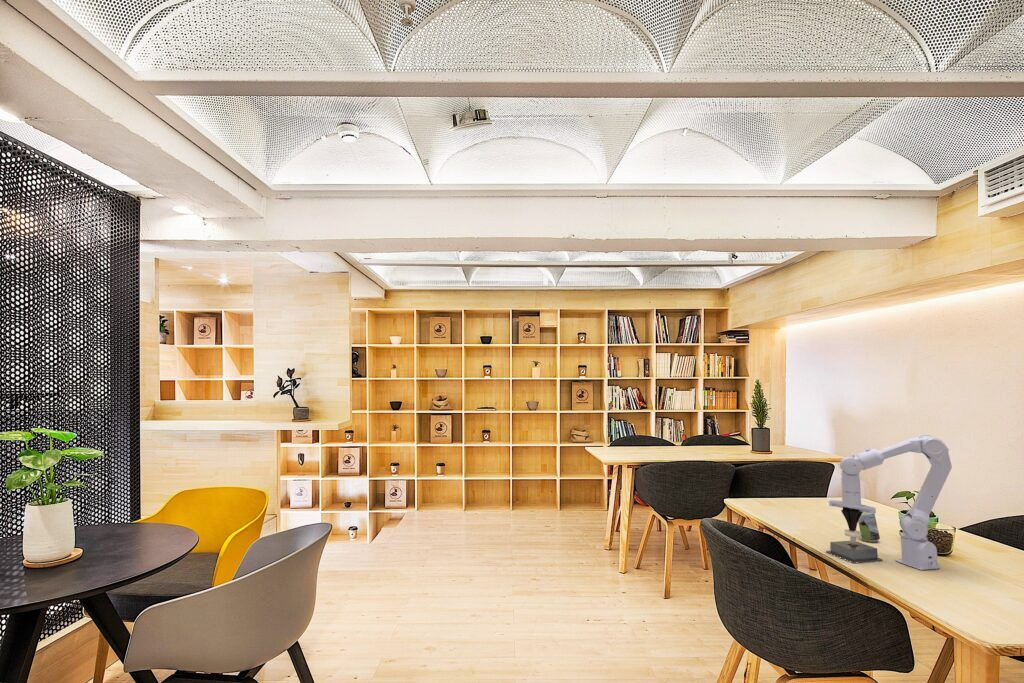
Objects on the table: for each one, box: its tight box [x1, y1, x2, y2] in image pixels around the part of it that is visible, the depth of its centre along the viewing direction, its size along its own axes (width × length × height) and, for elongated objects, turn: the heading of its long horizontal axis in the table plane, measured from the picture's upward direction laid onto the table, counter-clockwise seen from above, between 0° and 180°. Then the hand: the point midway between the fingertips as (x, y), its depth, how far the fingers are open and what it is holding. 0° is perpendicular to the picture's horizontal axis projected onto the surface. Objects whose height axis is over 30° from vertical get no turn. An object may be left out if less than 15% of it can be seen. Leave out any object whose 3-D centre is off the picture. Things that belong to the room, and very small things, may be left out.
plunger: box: [844, 529, 862, 547], centre depth 192 cm, size 5×5×5 cm
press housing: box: [825, 540, 884, 564], centre depth 192 cm, size 12×12×4 cm
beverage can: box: [857, 512, 881, 543], centre depth 212 cm, size 6×7×12 cm
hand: (852, 530), depth 193 cm, fingers closed
